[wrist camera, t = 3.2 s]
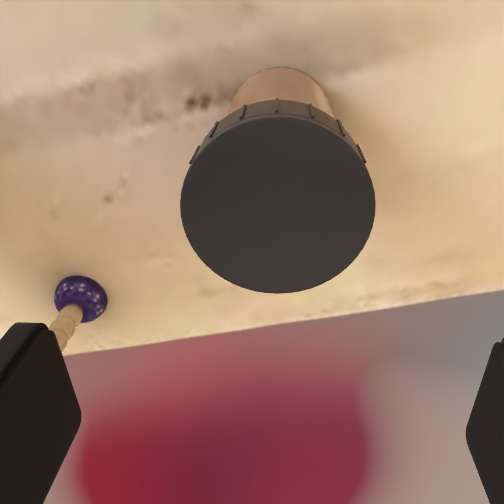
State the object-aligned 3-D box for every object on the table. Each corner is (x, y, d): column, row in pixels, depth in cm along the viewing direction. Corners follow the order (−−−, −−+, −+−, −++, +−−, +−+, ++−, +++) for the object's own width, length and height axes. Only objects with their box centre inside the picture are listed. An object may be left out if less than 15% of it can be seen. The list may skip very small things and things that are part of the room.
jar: (230, 171, 31) (201, 277, 20) (225, 68, 27) (185, 126, 16) (328, 170, 30) (353, 278, 19) (334, 65, 27) (370, 124, 16)
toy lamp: (56, 265, 36) (-96, 453, 21) (114, 277, 36) (2, 471, 22) (57, 311, 38) (-79, 507, 24) (111, 322, 38) (9, 522, 24)
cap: (199, 260, 22) (189, 294, 19) (182, 98, 18) (167, 116, 15) (356, 261, 21) (365, 296, 19) (374, 95, 17) (389, 113, 15)
